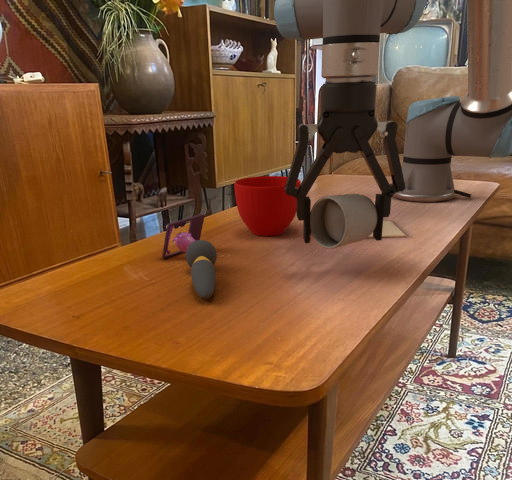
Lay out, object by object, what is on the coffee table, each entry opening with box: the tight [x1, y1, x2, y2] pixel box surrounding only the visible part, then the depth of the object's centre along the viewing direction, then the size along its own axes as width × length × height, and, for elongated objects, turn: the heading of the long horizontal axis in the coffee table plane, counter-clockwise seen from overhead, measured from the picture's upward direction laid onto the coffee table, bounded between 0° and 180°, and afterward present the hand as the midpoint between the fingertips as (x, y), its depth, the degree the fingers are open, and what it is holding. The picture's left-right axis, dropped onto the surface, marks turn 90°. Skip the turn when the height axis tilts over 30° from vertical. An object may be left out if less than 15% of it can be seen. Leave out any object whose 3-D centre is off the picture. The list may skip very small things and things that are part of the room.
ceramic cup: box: [233, 175, 301, 237], centre depth 105 cm, size 13×17×10 cm
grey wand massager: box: [185, 239, 218, 300], centre depth 79 cm, size 20×5×5 cm, turn 12°
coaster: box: [366, 220, 407, 239], centre depth 105 cm, size 12×12×1 cm
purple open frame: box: [161, 213, 206, 260], centre depth 91 cm, size 7×5×9 cm
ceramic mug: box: [310, 193, 378, 250], centre depth 80 cm, size 11×8×8 cm
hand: (341, 239), depth 81 cm, fingers closed on ceramic mug, 10 cm apart
